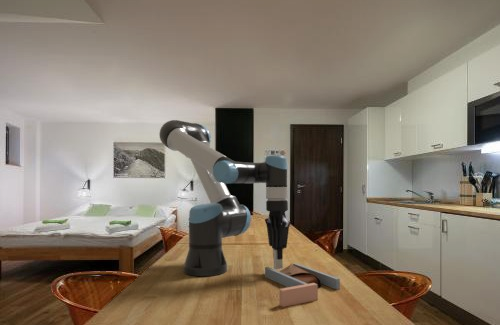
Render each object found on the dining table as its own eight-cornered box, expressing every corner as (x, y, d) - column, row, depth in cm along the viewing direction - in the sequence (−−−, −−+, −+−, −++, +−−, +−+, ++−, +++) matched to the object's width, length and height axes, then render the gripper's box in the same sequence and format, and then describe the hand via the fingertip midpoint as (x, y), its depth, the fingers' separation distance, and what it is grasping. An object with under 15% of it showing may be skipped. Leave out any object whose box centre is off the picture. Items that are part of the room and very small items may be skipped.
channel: (305, 295, 92) (305, 284, 92) (264, 276, 112) (264, 267, 112) (339, 289, 98) (339, 278, 98) (295, 271, 117) (295, 263, 118)
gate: (282, 307, 84) (282, 290, 84) (279, 305, 85) (279, 288, 86) (317, 299, 89) (317, 284, 89) (314, 298, 90) (313, 282, 91)
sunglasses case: (270, 275, 113) (279, 256, 115) (286, 283, 115) (294, 266, 117) (296, 290, 97) (307, 269, 98) (315, 301, 99) (324, 279, 100)
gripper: (296, 200, 114) (298, 270, 112) (275, 198, 125) (277, 263, 124) (277, 200, 110) (279, 274, 109) (258, 199, 122) (259, 265, 120)
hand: (278, 268), depth 116 cm, fingers closed
